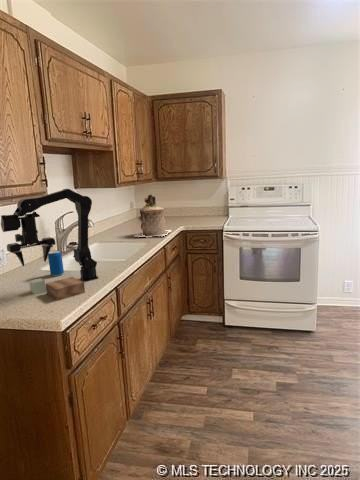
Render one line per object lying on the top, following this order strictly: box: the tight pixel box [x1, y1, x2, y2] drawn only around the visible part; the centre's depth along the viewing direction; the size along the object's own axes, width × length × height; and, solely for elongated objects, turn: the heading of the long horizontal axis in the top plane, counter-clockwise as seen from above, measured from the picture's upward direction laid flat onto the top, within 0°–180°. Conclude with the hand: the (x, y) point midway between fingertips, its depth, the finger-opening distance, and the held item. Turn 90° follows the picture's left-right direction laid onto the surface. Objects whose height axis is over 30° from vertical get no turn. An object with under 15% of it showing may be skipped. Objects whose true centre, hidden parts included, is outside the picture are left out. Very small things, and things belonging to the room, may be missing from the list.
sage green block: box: [28, 277, 47, 295], centre depth 155 cm, size 5×5×5 cm
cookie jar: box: [133, 193, 172, 238], centre depth 271 cm, size 25×25×32 cm
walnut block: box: [45, 276, 86, 301], centre depth 150 cm, size 12×12×5 cm
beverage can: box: [47, 250, 65, 277], centre depth 178 cm, size 6×6×12 cm
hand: (34, 263), depth 153 cm, fingers open, 9 cm apart
